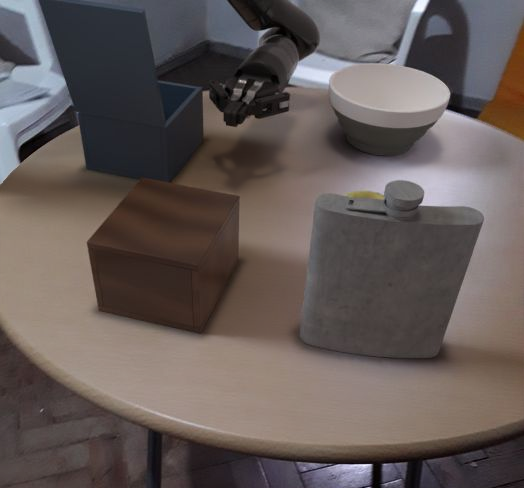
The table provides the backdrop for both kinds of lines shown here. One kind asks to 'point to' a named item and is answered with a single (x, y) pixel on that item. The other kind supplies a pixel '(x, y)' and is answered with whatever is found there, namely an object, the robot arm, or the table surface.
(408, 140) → the bowl
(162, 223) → the cabinet
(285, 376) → the table surface
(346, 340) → the hip flask
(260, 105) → the robot arm
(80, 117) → the chest
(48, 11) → the lid
